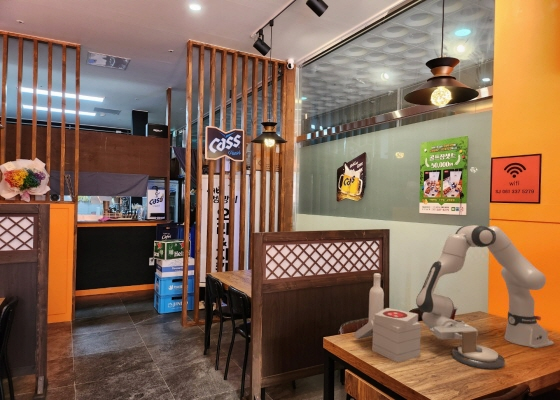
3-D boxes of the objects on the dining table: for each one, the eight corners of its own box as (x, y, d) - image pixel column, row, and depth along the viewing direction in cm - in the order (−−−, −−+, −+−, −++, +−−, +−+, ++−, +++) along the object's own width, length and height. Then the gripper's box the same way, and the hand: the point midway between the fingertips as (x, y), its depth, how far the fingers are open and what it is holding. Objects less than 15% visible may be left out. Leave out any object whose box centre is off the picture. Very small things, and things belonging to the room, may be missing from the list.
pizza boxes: (377, 335, 198) (378, 301, 198) (426, 357, 172) (427, 317, 172) (349, 342, 188) (350, 305, 188) (397, 365, 162) (398, 323, 162)
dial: (477, 345, 181) (477, 323, 181) (506, 359, 166) (507, 335, 166) (449, 349, 176) (449, 326, 176) (477, 363, 161) (477, 338, 161)
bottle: (366, 325, 213) (367, 272, 214) (380, 325, 214) (381, 272, 214) (371, 330, 205) (372, 275, 206) (385, 330, 206) (386, 275, 206)
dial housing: (479, 348, 184) (479, 344, 184) (516, 367, 163) (516, 362, 163) (441, 351, 179) (442, 346, 179) (474, 371, 158) (474, 366, 158)
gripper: (428, 322, 181) (446, 332, 168) (465, 320, 186) (486, 330, 172) (427, 335, 182) (445, 346, 168) (464, 333, 186) (485, 344, 172)
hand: (466, 338), depth 170 cm, fingers closed
